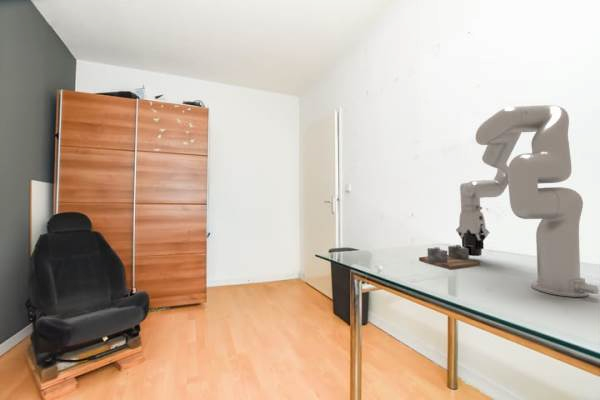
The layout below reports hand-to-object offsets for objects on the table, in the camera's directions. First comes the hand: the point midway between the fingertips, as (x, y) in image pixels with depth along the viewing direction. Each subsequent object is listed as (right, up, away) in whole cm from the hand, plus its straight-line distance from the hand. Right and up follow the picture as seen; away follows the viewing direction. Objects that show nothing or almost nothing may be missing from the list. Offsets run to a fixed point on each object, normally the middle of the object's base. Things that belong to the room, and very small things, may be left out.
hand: (472, 247), depth 124 cm
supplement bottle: (0, -4, 0) cm, 4 cm away
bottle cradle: (-13, -6, -3) cm, 15 cm away
